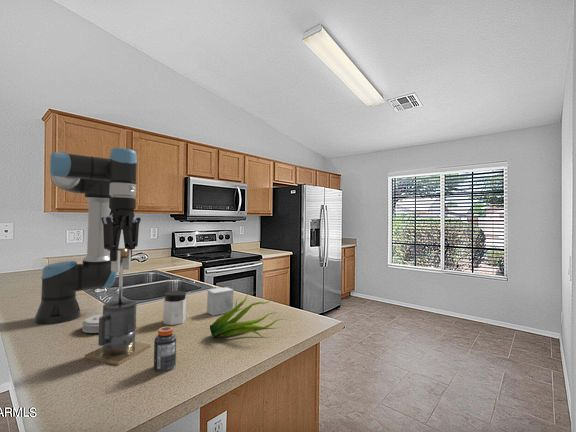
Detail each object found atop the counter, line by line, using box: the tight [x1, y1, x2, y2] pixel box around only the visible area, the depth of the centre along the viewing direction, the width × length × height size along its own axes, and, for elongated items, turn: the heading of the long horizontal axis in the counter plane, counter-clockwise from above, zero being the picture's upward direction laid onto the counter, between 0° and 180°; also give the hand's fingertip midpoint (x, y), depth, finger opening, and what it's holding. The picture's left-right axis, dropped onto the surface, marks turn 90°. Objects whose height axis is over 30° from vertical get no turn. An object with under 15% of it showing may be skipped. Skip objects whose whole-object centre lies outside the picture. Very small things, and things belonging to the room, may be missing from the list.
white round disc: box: [81, 313, 103, 334], centre depth 117 cm, size 13×13×5 cm
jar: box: [162, 290, 187, 326], centre depth 126 cm, size 9×8×12 cm
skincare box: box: [206, 287, 234, 317], centre depth 140 cm, size 10×6×10 cm, turn 131°
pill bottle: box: [153, 326, 177, 373], centre depth 88 cm, size 6×6×11 cm
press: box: [84, 299, 151, 366], centre depth 97 cm, size 13×14×16 cm
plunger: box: [117, 247, 128, 305], centre depth 97 cm, size 4×4×18 cm
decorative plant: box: [209, 291, 290, 339], centre depth 116 cm, size 18×30×15 cm, turn 90°
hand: (121, 270), depth 97 cm, fingers closed on plunger, 4 cm apart
